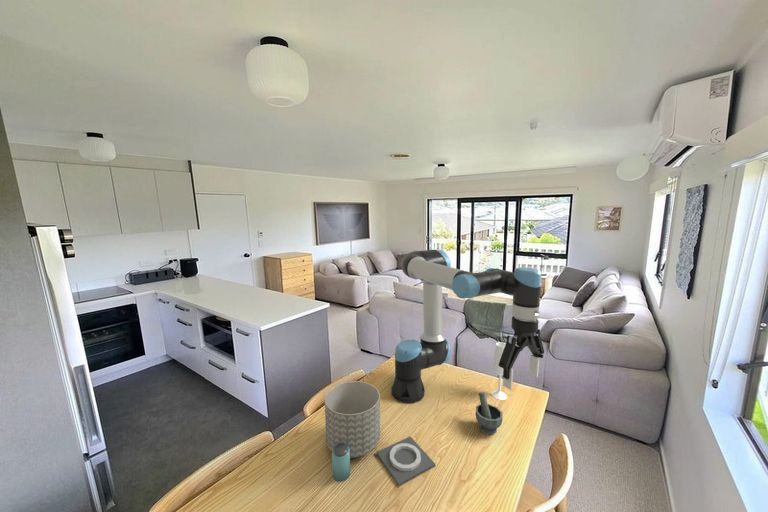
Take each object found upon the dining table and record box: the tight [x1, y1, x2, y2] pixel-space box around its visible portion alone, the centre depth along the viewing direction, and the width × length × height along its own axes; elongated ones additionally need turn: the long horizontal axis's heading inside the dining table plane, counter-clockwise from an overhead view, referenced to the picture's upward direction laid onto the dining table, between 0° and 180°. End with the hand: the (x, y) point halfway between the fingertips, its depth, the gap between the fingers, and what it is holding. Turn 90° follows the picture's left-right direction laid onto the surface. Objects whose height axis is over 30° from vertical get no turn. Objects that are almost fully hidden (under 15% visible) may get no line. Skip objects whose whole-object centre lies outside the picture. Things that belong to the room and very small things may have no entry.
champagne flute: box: [490, 341, 508, 401], centre depth 130 cm, size 7×7×24 cm
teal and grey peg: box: [331, 444, 351, 483], centre depth 91 cm, size 6×6×9 cm
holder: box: [376, 436, 436, 487], centre depth 97 cm, size 14×14×2 cm
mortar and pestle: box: [475, 391, 503, 435], centre depth 111 cm, size 11×9×12 cm
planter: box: [324, 380, 381, 459], centre depth 103 cm, size 19×19×18 cm
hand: (520, 381), depth 94 cm, fingers open, 13 cm apart
